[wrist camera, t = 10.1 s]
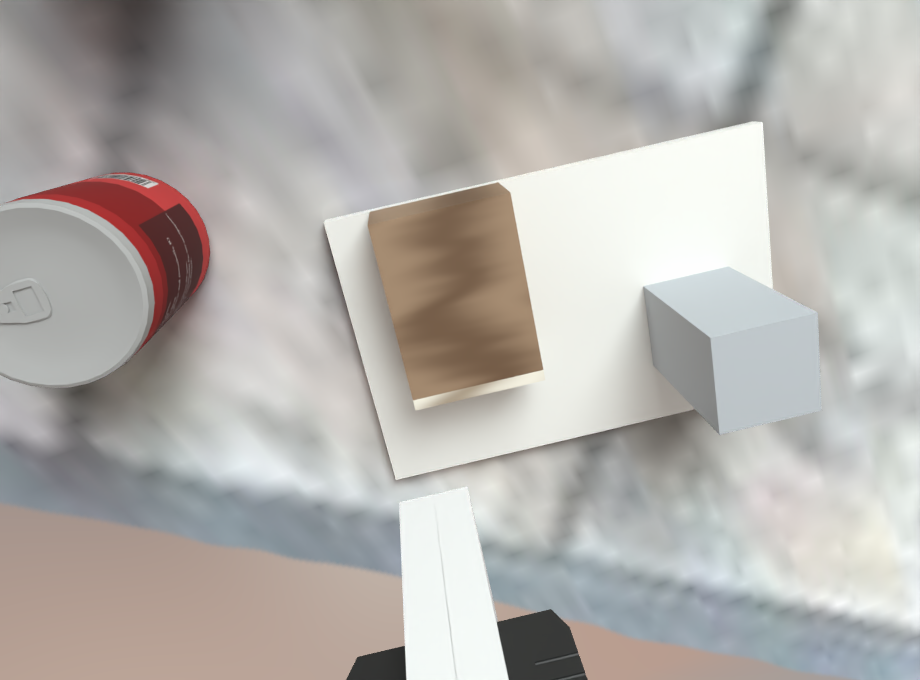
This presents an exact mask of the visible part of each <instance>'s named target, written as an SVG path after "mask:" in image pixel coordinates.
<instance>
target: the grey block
mask: <svg viewBox="0 0 920 680" xmlns="http://www.w3.org/2000/svg"><path fill="white" fill-rule="evenodd" d="M643 288H644V296H645V304H646V312H647V320H648V328H649V335H650V343H651V351H652V359H653V366H654V367H655V368H656V369H657V370H658V371H659V372H660V373H661V374H662V375H663V376H664V377H665V378H666V379H667V380H668V381H669V383H670V384H671V385H672V386H673V387H674V388H675V389H676V390H677V391H678V392H679V393H680V394H681V395H682V396H683V397H684V398H685V399H686V400H687V401H688V402H689V403H690V404H691V405H692V407H693V408H694V409H695V410H696V411H697V412H698V413H699V414H700V415H701V416H702V417H703V418H704V419H705V420H706V421H707V422H708V423H709V424H710V425H711V426H712V427H713V428H714V429H715V430H716V432H717V433H718V434H719V435H721V434H725V433H729V432H733V431H738V430H742V429H746V428H750V427H754V426H759V425H763V424H767V423H771V422H775V421H780V420H784V419H788V418H792V417H797V416H801V415H805V414H809V413H813V412H818V411H822V410H821V384H820V358H819V332H818V313H817V312H815V311H814V310H812V309H810V308H808V307H806V306H804V305H802V304H800V303H798V302H796V301H794V300H792V299H790V298H788V297H787V296H785V295H783V294H781V293H779V292H777V291H775V290H773V289H771V288H769V287H767V286H765V285H763V284H761V283H759V282H758V281H756V280H754V279H752V278H750V277H748V276H746V275H744V274H742V273H740V272H738V271H736V270H734V269H732V268H730V267H729V266H728V267H723V268H719V269H715V270H711V271H706V272H702V273H698V274H693V275H689V276H685V277H681V278H676V279H672V280H668V281H663V282H659V283H655V284H650V285H646V286H643Z"/></svg>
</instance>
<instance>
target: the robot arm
mask: <svg viewBox="0 0 920 680" xmlns="http://www.w3.org/2000/svg"><path fill="white" fill-rule="evenodd" d="M399 511H400V536H401V560H402V584H403V608H404V630H405V631H404V632H405V646H402V647H398V648H394V649H389V650H385V651H381V652H377V653H373V654H368V655H364V656H360V657H357V659H356V662H355V663H354V665H353V667H352V669H351V671H350V673H349V676H348V677H347V680H587V677H586V675H585V671H584V668H583V665H582V662H581V659H580V656H579V654H578V651H577V648H576V645H575V642H574V639H573V636H572V633H571V630H570V628H569V626H567V624H566V623H565V622H563V621H562V620H561V619H560V618H559V617H558V616H557V615H556V614H555V613H554V612H553V611H552V610H551V609H550V610H546V611H542V612H537V613H533V614H529V615H525V616H521V617H516V618H512V619H508V620H504V621H499V622H498V621H497V616H496V611H495V606H494V602H493V597H492V592H491V588H490V583H489V579H488V575H487V570H486V566H485V562H484V557H483V553H482V548H481V544H480V540H479V535H478V531H477V527H476V522H475V518H474V513H473V509H472V505H471V500H470V496H469V492H468V487H463V488H459V489H455V490H450V491H446V492H442V493H437V494H433V495H429V496H424V497H420V498H416V499H411V500H407V501H403V502H399Z"/></svg>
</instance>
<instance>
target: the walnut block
mask: <svg viewBox="0 0 920 680" xmlns="http://www.w3.org/2000/svg"><path fill="white" fill-rule="evenodd" d="M368 229H369V233H370V237H371V241H372V245H373V249H374V252H375V256H376V260H377V264H378V268H379V272H380V276H381V279H382V283H383V287H384V291H385V295H386V299H387V303H388V306H389V310H390V314H391V318H392V322H393V326H394V329H395V333H396V337H397V341H398V345H399V349H400V353H401V356H402V360H403V364H404V368H405V372H406V376H407V380H408V383H409V387H410V391H411V395H412V399H413V403H414V406H415V410H420V409H425V408H429V407H433V406H437V405H442V404H446V403H450V402H454V401H459V400H463V399H467V398H472V397H476V396H480V395H484V394H489V393H493V392H497V391H501V390H506V389H510V388H514V387H518V386H523V385H527V384H531V383H535V382H540V381H544V380H545V376H544V370H543V365H542V360H541V354H540V349H539V343H538V338H537V333H536V327H535V322H534V317H533V311H532V306H531V300H530V295H529V290H528V284H527V279H526V273H525V268H524V263H523V257H522V252H521V247H520V241H519V236H518V230H517V225H516V220H515V214H514V209H513V204H512V198H511V193H510V192H509V191H508V190H507V189H506V188H505V187H503V186H502V185H501V184H500V183H499V182H497V183H493V184H489V185H484V186H480V187H476V188H471V189H467V190H463V191H458V192H454V193H450V194H445V195H441V196H436V197H432V198H428V199H423V200H419V201H415V202H410V203H406V204H402V205H397V206H393V207H389V208H384V209H380V210H376V211H371V212H370V213H369V219H368Z"/></svg>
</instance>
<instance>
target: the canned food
mask: <svg viewBox="0 0 920 680" xmlns="http://www.w3.org/2000/svg"><path fill="white" fill-rule="evenodd" d="M209 256H210V248H209V238H208V235H207V231H206V228H205V225H204V223H203V221H202V219H201V217H200V215H199V213H198V212H197V210H196V209H195V208H194V206H193V205H192V204H191V203H190V202H189V200H188V199H187V198H185V197H184V196H183V195H182V194H181V193H179V192H178V191H177V190H176V189H174V188H173V187H171V186H169V185H168V184H166V183H164V182H162V181H160V180H157V179H155V178H152V177H149V176H147V175H141V174H135V173H111V174H106V175H101V176H97V177H93V178H90V179H86V180H83V181H79V182H75V183H72V184H68V185H65V186H61V187H57V188H54V189H50V190H47V191H43V192H39V193H36V194H32V195H29V196H25V197H21V198H18V199H15V200H13V201H10V202H6V203H3V204H1V205H0V375H2V376H4V377H6V378H8V379H10V380H13V381H16V382H20V383H23V384H26V385H30V386H37V387H45V388H69V387H74V386H79V385H84V384H88V383H91V382H93V381H96V380H98V379H101V378H103V377H105V376H107V375H108V374H110V373H112V372H113V371H115V370H116V369H118V368H119V367H121V366H122V365H124V364H125V363H127V361H128V360H129V359H130V358H131V357H132V356H134V355H135V354H136V353H137V352H138V351H139V350H140V349H141V348H142V347H143V346H144V345H145V344H146V343H147V342H148V341H149V340H150V339H151V338H152V336H153V335H154V334H155V333H156V332H157V331H158V330H159V329H160V328H161V327H162V326H163V325H164V324H165V323H166V322H167V321H168V320H169V319H170V318H171V316H172V315H173V314H174V313H175V312H176V311H177V310H178V309H179V308H180V307H181V306H182V305H183V304H184V303H185V302H186V301H187V300H188V299H189V297H190V296H191V295H192V294H193V293H194V292H195V291H196V290H197V288H198V287H199V285H200V284H201V282H202V281H203V279H204V276H205V274H206V271H207V268H208V264H209Z"/></svg>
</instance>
